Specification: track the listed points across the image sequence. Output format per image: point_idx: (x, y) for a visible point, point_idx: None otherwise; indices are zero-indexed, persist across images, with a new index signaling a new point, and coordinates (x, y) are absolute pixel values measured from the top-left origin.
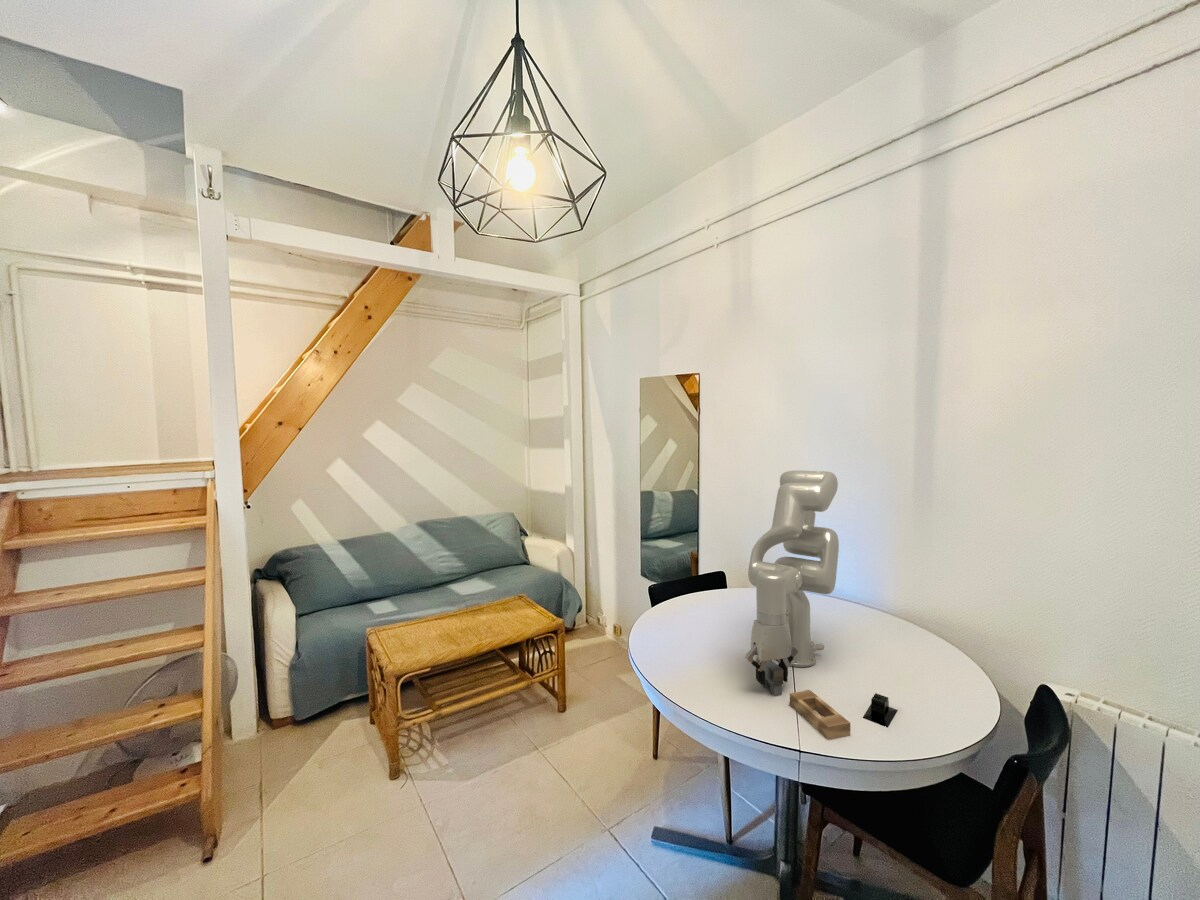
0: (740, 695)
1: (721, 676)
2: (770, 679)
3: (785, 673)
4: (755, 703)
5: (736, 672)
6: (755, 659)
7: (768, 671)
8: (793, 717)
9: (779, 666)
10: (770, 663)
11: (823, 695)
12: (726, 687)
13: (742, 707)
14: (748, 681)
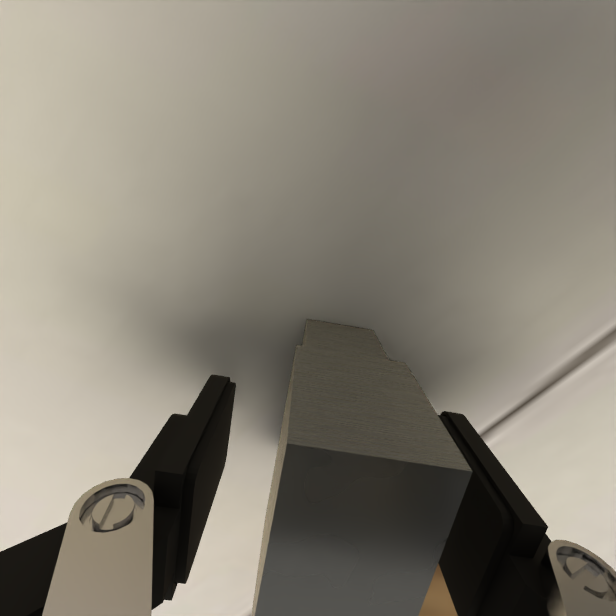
0: (67, 352)
1: (47, 32)
2: (267, 512)
3: (445, 565)
4: (117, 456)
5: (235, 35)
6: (45, 607)
7: (263, 549)
8: (238, 606)
9: (483, 516)
10: (363, 558)
11: None
12: (10, 220)
13: (12, 454)
14: (241, 226)
